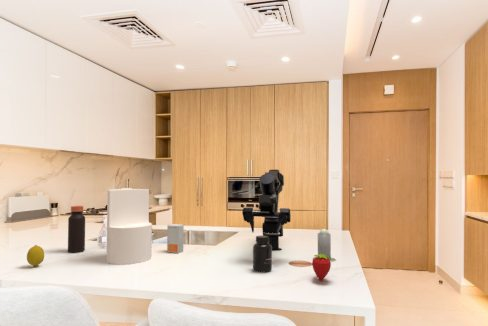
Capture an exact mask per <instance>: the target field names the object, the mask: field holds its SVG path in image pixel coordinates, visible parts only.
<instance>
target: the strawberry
mask: <svg viewBox="0 0 488 326" xmlns="http://www.w3.org/2000/svg"><path fill="white" fill-rule="evenodd" d="M323 251H324V250H323ZM323 251H322V252H323ZM313 256H314V257H315V258H314V257H313V258H314V259H313V258H312V262H311V263H312V270H313V272H314V273H315V275H316V277H317V279H318V280H319V281H320V282H323V280H324V279H325V278H326V277H327V275H328V274H329V272H330V269H331V267H332V264H331V263H332V262H330V260H329V259H328V258H326V257H329V256H325V255H322V254H319V255H318V254H314V255H313Z"/></svg>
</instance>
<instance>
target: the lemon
mask: <svg viewBox="0 0 488 326" xmlns="http://www.w3.org/2000/svg"><path fill="white" fill-rule="evenodd" d="M44 259H45V251H44V249H43V247H41V246H40V245H37V244H35V245H34V246H31V247H30V248H29V250H28V251H27V254H26V260H27V263H28V264H29V265H31V266H33V267H34V268H36V267H38V266H39V265H40V264H42V262H43V261H44Z"/></svg>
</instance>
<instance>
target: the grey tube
mask: <svg viewBox="0 0 488 326" xmlns="http://www.w3.org/2000/svg"><path fill="white" fill-rule="evenodd" d="M331 237H332V235H331V233H329V231H328V229H326V228H321V229H320V230H319V233H318V232H317V255H319V254H322V255H325V256H329V257H326V258H328V259H329V260H331V258H332V253H331V249H332V247H331V245H332V244H331V243H332V242H331ZM323 250H324V251H323ZM322 251H323V252H322Z"/></svg>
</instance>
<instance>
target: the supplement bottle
mask: <svg viewBox="0 0 488 326" xmlns="http://www.w3.org/2000/svg"><path fill="white" fill-rule="evenodd" d="M255 242H256V243H254V244H253V246H252V270H253V271H254V272H256V273H269V272H271V271H272V269H273V268H272V267H273V251H272V246H271V245H270V244H269V236H263V235H256V236H255Z"/></svg>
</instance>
